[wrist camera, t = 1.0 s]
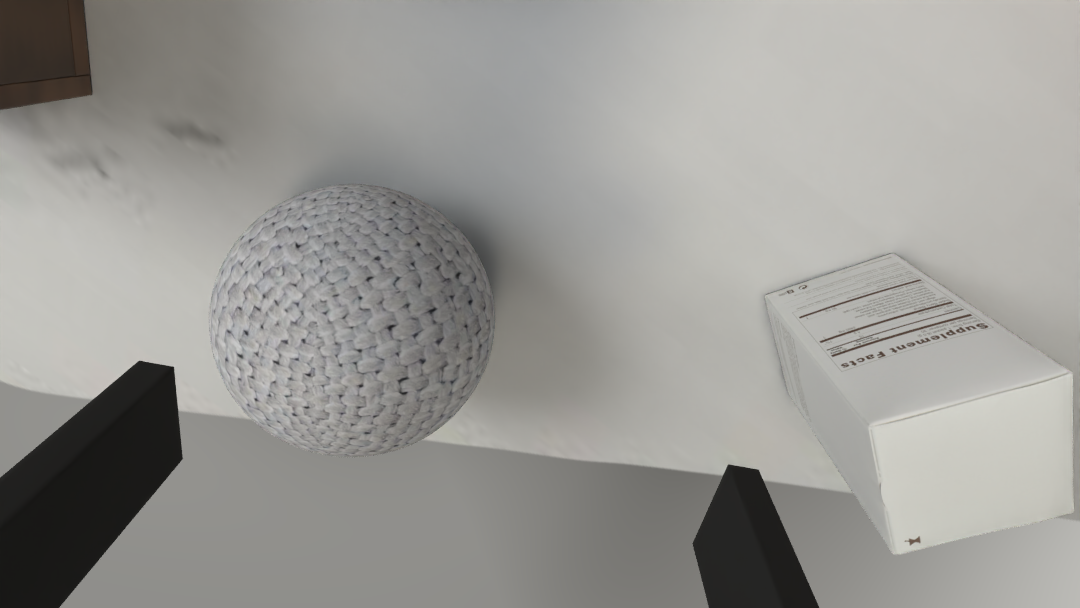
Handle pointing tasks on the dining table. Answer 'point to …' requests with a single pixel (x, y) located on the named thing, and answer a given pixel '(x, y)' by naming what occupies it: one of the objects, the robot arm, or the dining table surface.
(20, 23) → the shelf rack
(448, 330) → the decorative ball
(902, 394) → the white product box
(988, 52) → the dining table surface
